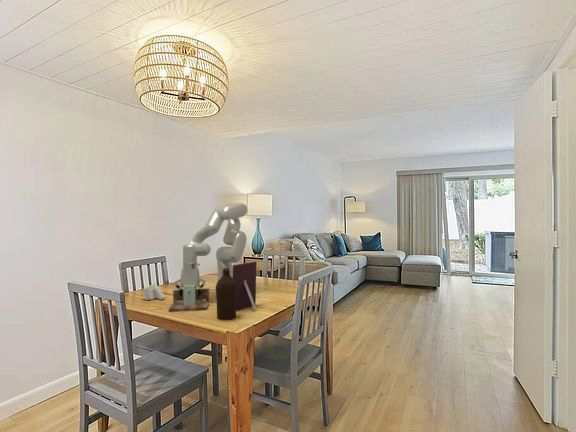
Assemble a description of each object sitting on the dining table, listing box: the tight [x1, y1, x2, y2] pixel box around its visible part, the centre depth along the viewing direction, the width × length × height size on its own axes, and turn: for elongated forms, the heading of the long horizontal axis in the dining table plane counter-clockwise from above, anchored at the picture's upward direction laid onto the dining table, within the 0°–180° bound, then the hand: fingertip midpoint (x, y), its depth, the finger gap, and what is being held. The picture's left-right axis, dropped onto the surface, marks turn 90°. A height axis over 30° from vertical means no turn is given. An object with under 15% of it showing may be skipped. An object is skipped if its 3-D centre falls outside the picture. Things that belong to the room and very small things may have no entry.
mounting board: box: [168, 288, 210, 313], centre depth 180 cm, size 20×14×8 cm
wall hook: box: [143, 284, 166, 301], centre depth 198 cm, size 8×10×10 cm
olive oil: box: [215, 267, 237, 321], centre depth 163 cm, size 11×11×25 cm
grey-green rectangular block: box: [183, 285, 197, 306], centre depth 181 cm, size 6×9×11 cm
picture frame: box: [232, 261, 258, 312], centre depth 176 cm, size 17×10×25 cm, turn 141°
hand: (190, 296), depth 182 cm, fingers open, 9 cm apart
